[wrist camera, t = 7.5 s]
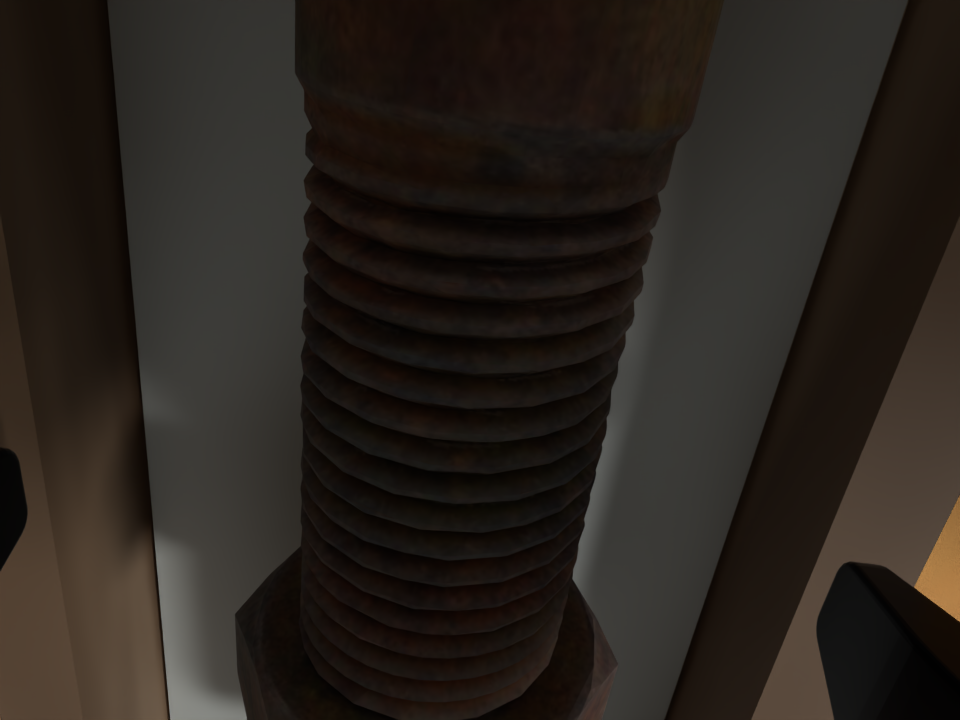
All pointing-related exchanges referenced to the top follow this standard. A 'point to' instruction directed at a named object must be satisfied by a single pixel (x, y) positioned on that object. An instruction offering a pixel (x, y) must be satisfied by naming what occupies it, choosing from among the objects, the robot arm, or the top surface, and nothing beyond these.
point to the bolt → (464, 346)
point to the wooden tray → (634, 396)
